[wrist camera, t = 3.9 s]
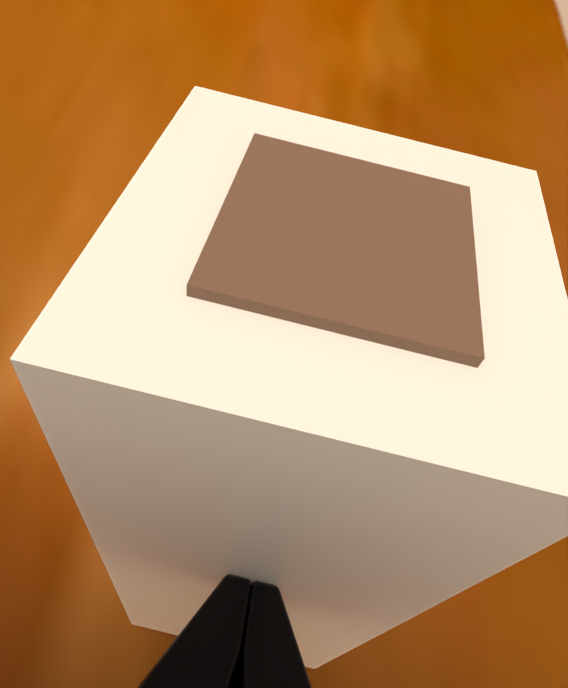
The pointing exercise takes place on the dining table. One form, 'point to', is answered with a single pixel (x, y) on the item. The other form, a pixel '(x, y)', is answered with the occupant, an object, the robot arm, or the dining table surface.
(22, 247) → the dining table surface
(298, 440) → the white rectangular block
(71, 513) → the dining table surface
